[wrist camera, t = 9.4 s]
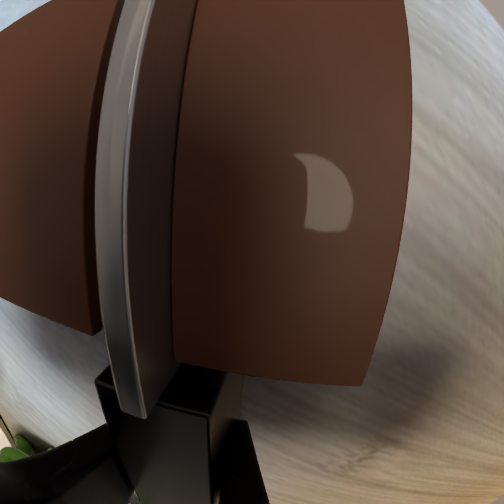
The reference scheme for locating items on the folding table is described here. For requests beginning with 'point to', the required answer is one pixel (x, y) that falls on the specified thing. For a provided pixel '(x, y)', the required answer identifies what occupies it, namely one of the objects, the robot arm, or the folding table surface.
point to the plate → (5, 437)
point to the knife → (151, 270)
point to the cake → (53, 157)
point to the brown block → (290, 186)
